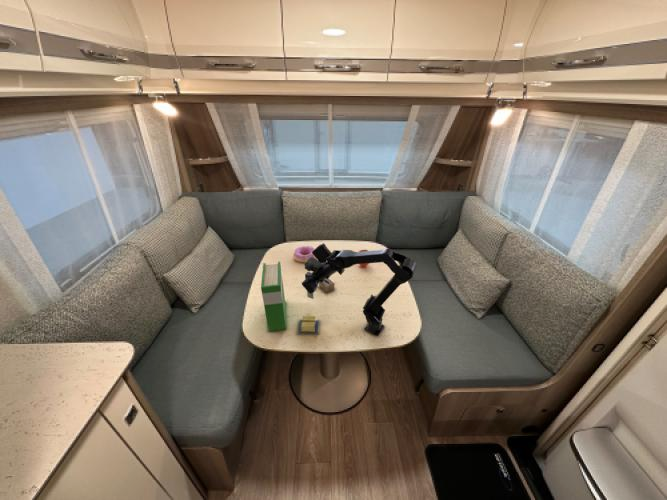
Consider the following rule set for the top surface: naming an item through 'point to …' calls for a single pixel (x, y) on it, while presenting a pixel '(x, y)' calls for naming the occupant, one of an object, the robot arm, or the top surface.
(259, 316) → the top surface
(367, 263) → the apple
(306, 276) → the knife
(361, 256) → the robot arm
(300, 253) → the donut
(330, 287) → the brown rectangular block
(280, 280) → the hardback book
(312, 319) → the butter dish
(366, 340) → the top surface
